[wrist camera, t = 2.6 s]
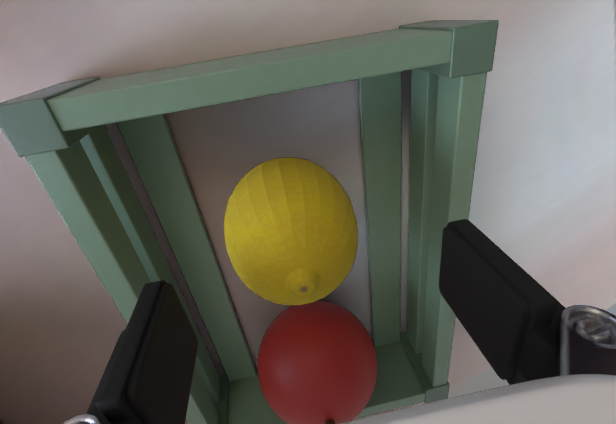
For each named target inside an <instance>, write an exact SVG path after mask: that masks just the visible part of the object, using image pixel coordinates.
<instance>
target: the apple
mask: <svg viewBox="0 0 616 424" xmlns="http://www.w3.org/2000/svg"><path fill="white" fill-rule="evenodd" d="M257 369H258V379H259V383H260V386H261V390H262V392H263V395H264V397H265V399H266V401H267V403H268V404H269V406H270V407H271V408H272V410H273V411H274V412H275V413H276V414H277V415H278V416H279V417H280V418H281V419H282V420H284V421H285V422H286V423H288V424H340V423H345V422H349V421H352V420H354V419H355V418H356V417H357V416H358V415H359V414H360V413H361V412H362V410H363V409H364V408H365V406H366V405H367V403H368V402H369V400H370V397H371V395H372V393H373V390H374V387H375V383H376V377H377V358H376V352H375V348H374V345H373V342H372V339H371V337H370V335H369V333H368V331H367V330H366V328H365V327H364V325H363V324H362V323H361V322H360V321H359V319H358V318H357V317H356V316H355V315H353V314H352V313H351V312H349V311H348V310H347V309H345V308H343V307H341V306H339V305H336V304H334V303H330V302H325V301H320V300H317V301H315V302H312V303H308V304H303V305H292V306H290V307H289V308H288V309H287V310H285V311H284V312H283V313H281V314H280V315H279V316H278V317H277V318H276V319H275V320H274V321H273V322H272V324H271V325H270V326H269V328H268V330H267V331H266V333H265V335H264V337H263V340H262V342H261V345H260V349H259V354H258V363H257Z"/></svg>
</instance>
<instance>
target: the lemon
mask: <svg viewBox="0 0 616 424" xmlns="http://www.w3.org/2000/svg"><path fill="white" fill-rule="evenodd" d="M224 234H225V244H226V249H227V252H228V255H229V257H230V260H231V262H232V265H233V267H234V270H235V272H236V274H237V275H238V276H239V278H240V279H241V280H242V281H243V282H244V284H245V285H246V286H247V287H248V288H249V289H250V290H251V291H253V292H254V293H256V294H257V295H258V296H260V297H261V298H263V299H266V300H268V301H271V302H273V303H277V304H282V305H303V304H308V303H312V302H315V301H317V300H319V299H322V298H324V297H325V296H327V295H328V294H330V293H331V292H333V291H334V290H335V289H336V288H337V287H338V286H339V285H340V284H341V283H342V282H343V281H344V280H345V278H346V277H347V275H348V273H349V272H350V270H351V268H352V266H353V263H354V260H355V256H356V253H357V242H358V228H357V221H356V217H355V214H354V210H353V207H352V204H351V201H350V199H349V197H348V195H347V194H346V192H345V191H344V189H343V188H342V186H341V185H340V183H339V182H338V180H337V179H336V178H335V177H333V176H332V175H331V174H330V173H329V172H328V171H326V170H325V169H324V168H323V167H321V166H319V165H317V164H315V163H312V162H310V161H308V160H305V159H299V158H294V157H286V158H276V159H272V160H269V161H266V162H263V163H261V164H259V165H258V166H256V167H254V168H253V169H251V170H250V171H249V172H248V173H247V174H246V175H245V176H244V177H243V178H242V179H241V180H240V181H239V182H238V183H237V185H236V187H235V189H234V190H233V192H232V194H231V196H230V198H229V200H228V204H227V208H226V213H225V217H224Z"/></svg>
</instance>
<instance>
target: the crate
mask: <svg viewBox="0 0 616 424" xmlns="http://www.w3.org/2000/svg"><path fill="white" fill-rule="evenodd" d="M497 30H498V20H432V21H426V22H420V23H414V24H408V25H402V26H399V29H393V30H388V31H382V32H376V33H370V34H364V35H358V36H352V37H346V38H340V39H334V40H328V41H322V42H317V43H311V44H305V45H299V46H293V47H287V48H281V49H275V50H269V51H263V52H257V53H251V54H245V55H240V56H234V57H228V58H222V59H216V60H210V61H204V62H198V63H192V64H186V65H180V66H174V67H169V68H163V69H157V70H151V71H145V72H139V73H133V74H127V75H121V76H115V77H109V78H103V79H100V77H93V78H87V79H81V80H75V81H69V82H63V83H59V84H56V85H53V86H50V87H47V88H44V89H41V90H38V91H35V92H32V93H29V94H26V95H23V96H20V97H17V98H14V99H11V100H8V101H5V102H2V103H0V127H1V129H2V131H3V132H4V134H5V135H6V137H7V139H8V140H9V142H10V143H11V145H12V147H13V148H14V150H15V152H16V153H17V155H18V156H19V157H23V156H25V157H26V159H27V161H28V162H29V164H30V166H31V167H32V169H33V171H34V172H35V174H36V175H37V177H38V179H39V180H40V182H41V184H42V185H43V187H44V189H45V190H46V192H47V193H48V195H49V197H50V198H51V200H52V202H53V203H54V205H55V207H56V208H57V210H58V211H59V213H60V215H61V216H62V218H63V220H64V221H65V223H66V225H67V226H68V228H69V229H70V231H71V233H72V234H73V236H74V238H75V239H76V241H77V243H78V244H79V246H80V247H81V249H82V251H83V252H84V254H85V256H86V257H87V259H88V261H89V262H90V264H91V265H92V267H93V269H94V270H95V272H96V274H97V275H98V277H99V279H100V280H101V282H102V283H103V285H104V287H105V288H106V290H107V292H108V293H109V295H110V297H111V298H112V300H113V301H114V303H115V305H116V306H117V308H118V310H119V311H120V313H121V315H122V316H123V318H124V319H125V321H126V323H127V324H128V322H129V320H130V318H131V315H132V313H133V310H134V308H135V306H136V303H137V301H138V298H139V296H140V294H141V291H142V289H143V286H144V285H145V284H146V283H151V282H156V281H161V280H165V281H166V283H167V284H168V283H171V284H172V285H173V287H174V289H175V291H176V293H177V295H178V297H179V300H180V302H181V304H182V306H183V308H184V311H185V313H186V315H187V317H188V319H189V321H190V324H191V326H192V328H193V330H194V332H195V334H196V337H197V341H198V349H197V355H196V361H195V367H194V373H193V378H192V384H191V390H190V396H189V402H188V408H187V414H186V421H187V423H188V424H288V423H286V422H285V421H284V420H282V419H281V418H280V417H279V416H278V415H277V414H276V413H275V412H274V411H273V410H272V408H271V407H270V406H269V404H268V403H267V401H266V399H265V397H264V395H263V392H262V390H261V386H260V383H259V379H258V371H257V372H256V369H255V366H254V363H253V360H252V357H251V355H250V352H249V349H248V346H247V343H246V341H245V338H244V335H243V332H242V329H241V327H240V324H239V321H238V318H237V315H236V313H235V310H234V307H233V304H232V301H231V299H230V296H229V293H228V290H227V287H226V285H225V282H224V279H223V276H222V273H221V271H220V268H219V265H218V262H217V259H216V257H215V254H214V251H213V248H212V245H211V243H210V240H209V237H208V234H207V231H206V229H205V226H204V223H203V220H202V217H201V215H200V212H199V209H198V206H197V203H196V201H195V198H194V195H193V192H192V189H191V187H190V184H189V181H188V178H187V175H186V173H185V170H184V167H183V164H182V161H181V159H180V156H179V153H178V150H177V147H176V145H175V142H174V139H173V136H172V133H171V131H170V128H169V125H168V122H167V120H166V117H165V114H167V113H172V112H178V111H183V110H189V109H195V108H200V107H206V106H211V105H217V104H223V103H228V102H234V101H239V100H245V99H251V98H256V97H262V96H267V95H273V94H279V93H284V92H290V91H295V90H301V89H307V88H312V87H318V86H323V85H329V84H335V83H340V82H346V81H351V80H357V79H358V90H359V107H360V124H361V141H362V159H363V176H364V193H365V210H366V227H367V245H368V262H369V279H370V296H371V314H372V331H373V345H374V348H375V352H376V358H377V377H376V383H375V387H374V390H373V393H372V395H371V397H370V400H369V402H368V403H367V405H366V406H365V408H364V409H363V410H362V412H361V413H360V414H359V415H358V416H357V417H356V418H355V419H357V418H361V417H365V416H369V415H373V414H377V413H381V412H385V411H389V410H393V409H397V408H401V407H405V406H409V405H413V404H417V403H421V402H425V404H427V403H431V402H435V401H439V400H443V399H447V398H448V392H449V383H448V381H447V380H448V372H449V364H450V356H451V349H452V341H453V333H454V325H455V317H456V315H455V314H454V312H453V311H452V309H451V308H450V306H449V305H448V304H447V302H446V301H445V299H444V298H443V296H442V295H441V293H440V290H439V274H440V261H441V248H442V235H443V229H444V227H447V224H448V223H449V222H452V221H457V220H462V219H467V220H468V216H469V208H470V201H471V193H472V185H473V177H474V169H475V162H476V154H477V146H478V138H479V131H480V123H481V115H482V107H483V99H484V92H485V84H486V76H487V72H489V71H492V67H493V59H494V52H495V45H496V37H497ZM407 70H412V81H411V131H410V181H409V231H408V281H407V331H406V332H402V333H400V235H401V72H402V71H407ZM116 122H117V125H118V127H119V129H120V132H121V134H122V136H123V138H124V141H125V143H126V145H127V148H128V150H129V152H130V155H131V157H132V159H133V161H134V164H135V166H136V168H137V171H138V173H139V175H140V177H141V180H142V182H143V184H144V187H145V189H146V191H147V193H148V196H149V198H150V200H151V203H152V205H153V207H154V209H155V212H156V214H157V216H158V219H159V221H160V223H161V225H162V228H163V230H164V232H165V235H166V237H167V239H168V242H169V244H170V246H171V248H172V251H173V253H174V255H175V258H176V260H177V262H178V264H179V267H180V269H181V271H182V274H183V276H184V278H185V280H186V283H187V285H188V287H189V290H190V292H191V294H192V296H193V299H194V301H195V303H196V306H197V308H198V310H199V313H200V315H201V317H202V319H203V322H204V324H205V326H206V329H207V331H208V333H209V335H210V338H211V340H212V342H213V345H214V347H215V349H216V351H217V354H218V356H219V358H220V361H221V363H222V365H223V367H224V370H225V372H226V374H225V375H221V376H219V374H218V372H217V369H216V367H215V365H214V363H213V361H212V358H211V356H210V354H209V352H208V350H207V347H206V345H205V343H204V341H203V339H202V337H201V334H200V332H199V330H198V328H197V326H196V323H195V321H194V319H193V317H192V315H191V312H190V310H189V308H188V306H187V304H186V301H185V299H184V297H183V295H182V293H181V290H180V288H179V286H178V284H177V282H176V280H175V277H174V275H173V273H172V271H171V269H170V266H169V264H168V262H167V260H166V258H165V255H164V253H163V251H162V249H161V247H160V244H159V242H158V240H157V238H156V236H155V234H154V231H153V229H152V227H151V225H150V223H149V220H148V218H147V216H146V214H145V212H144V209H143V207H142V205H141V203H140V201H139V198H138V196H137V194H136V192H135V190H134V188H133V185H132V183H131V181H130V179H129V177H128V174H127V172H126V170H125V168H124V166H123V163H122V161H121V159H120V157H119V155H118V152H117V150H116V148H115V146H114V144H113V141H112V139H111V137H110V135H109V133H108V131H107V128H106V126H105V124H111V123H116Z"/></svg>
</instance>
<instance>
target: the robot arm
mask: <svg viewBox="0 0 616 424" xmlns="http://www.w3.org/2000/svg"><path fill="white" fill-rule="evenodd" d="M439 290H440V293H441V295H442V296H443V298H444V299H445V301H446V302H447V304H448V305H449V306H450V308H451V309H452V311H453V312H454V314H455V315H456V316H457V318H458V319H459V321H460V322H461V324H462V325H463V326H464V328H465V329H466V331H467V332H468V334H469V335H470V336H471V338H472V339H473V341H474V342H475V343H476V345H477V346H478V348H479V349H480V351H481V352H482V353H483V355H484V356H485V358H486V359H487V361H488V362H489V363H490V365H491V366H492V368H493V369H494V371H495V372H496V373H497V375H498V376H499V377H500V378H501V379H503V380H504V379H506V380H507V382H508V383H509V384H510V385H508V386H503V387H498V388H493V389H489V390H484V391H480V392H475V393H471V394H466V395H462V396H458V397H453V398H449V399H444V400H440V401H436V402H431V403H427V404H422V405H418V406H414V407H409V408H405V409H400V410H396V411H392V412H388V413H383V414H379V415H375V416H370V417H366V418H362V419H357V420H353V421H349V422H345V423H340V424H616V316H615V315H613V314H611V313H609V312H607V311H605V310H602V309H599V308H596V307H592V306H586V305H573V306H570V307H567V308H565V307H564V306H563V305H561V304H560V303H559V302H558V301H557V300H556V299H555V298H554V297H553V296H552V295H551V294H550V293H549V292H547V291H546V290H545V289H544V288H543V287H542V286H541V285H540V284H539V283H537V282H536V281H535V280H534V279H533V278H532V277H531V276H530V275H529V274H528V273H526V272H525V271H524V270H523V269H522V268H521V267H520V266H519V265H518V264H516V263H515V262H514V261H513V260H512V259H511V258H510V257H509V256H508V255H506V254H505V253H504V252H503V251H502V250H501V249H500V248H499V247H498V246H496V245H495V244H494V243H493V242H492V241H491V240H490V239H489V238H488V237H487V236H485V235H484V234H483V233H482V232H481V231H480V230H479V229H478V228H477V227H475V226H474V225H473V224H472V223H471V222H470V221H469V220H467V219H462V220H457V221H452V222H449V223H448V224H447V227H444V229H443V235H442V248H441V261H440V274H439ZM197 349H198V341H197V337H196V334H195V332H194V330H193V328H192V326H191V324H190V321H189V319H188V317H187V315H186V313H185V311H184V308H183V306H182V304H181V302H180V300H179V297H178V295H177V293H176V291H175V289H174V287H173V285H172V284H171V283H168V284H167V283H166V281H165V280H161V281H156V282H151V283H146V284H145V285H144V286H143V289H142V291H141V294H140V296H139V298H138V301H137V303H136V306H135V308H134V310H133V313H132V315H131V318H130V320H129V322H128V325H127V327H126V329H125V330H124V331H122V333H121V335H120V336H119V339H118V341H117V343H116V346H115V348H114V351H113V353H112V355H111V358H110V360H109V362H108V365H107V367H106V369H105V372H104V374H103V376H102V379H101V381H100V383H99V386H98V388H97V390H96V393H95V395H94V397H93V400H92V402H91V404H90V407H89V409H88V411H87V414H84V415H78V416H76V417H73V418H71V419H68V420H67V421H65V422H64V423H62V424H185V420H186V414H187V408H188V402H189V396H190V390H191V384H192V378H193V373H194V367H195V361H196V355H197Z"/></svg>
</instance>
